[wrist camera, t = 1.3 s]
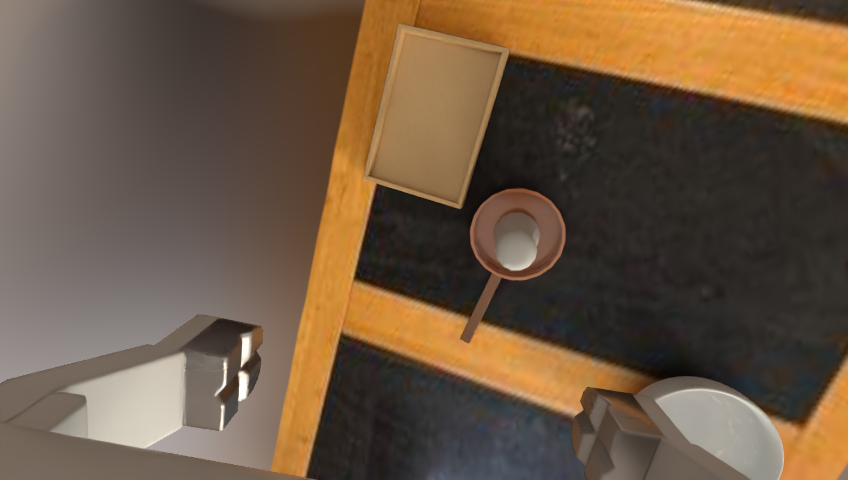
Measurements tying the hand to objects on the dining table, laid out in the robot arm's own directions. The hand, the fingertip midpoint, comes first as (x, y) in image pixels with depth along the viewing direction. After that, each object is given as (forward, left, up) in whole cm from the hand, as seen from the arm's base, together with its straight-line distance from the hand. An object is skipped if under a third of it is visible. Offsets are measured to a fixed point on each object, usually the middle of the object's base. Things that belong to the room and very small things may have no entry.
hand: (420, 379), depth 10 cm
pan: (-1, +4, -45) cm, 45 cm away
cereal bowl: (-12, +35, -45) cm, 58 cm away
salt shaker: (-1, +4, -45) cm, 45 cm away
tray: (+4, -14, -45) cm, 47 cm away
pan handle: (+7, +12, -43) cm, 45 cm away
